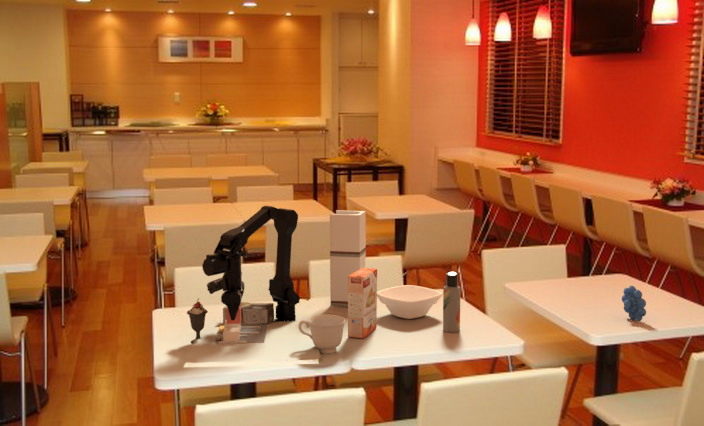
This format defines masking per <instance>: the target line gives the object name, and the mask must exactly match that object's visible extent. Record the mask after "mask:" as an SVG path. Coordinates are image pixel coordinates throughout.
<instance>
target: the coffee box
mask: <svg viewBox="0 0 704 426" xmlns="http://www.w3.org/2000/svg"><path fill="white" fill-rule="evenodd" d="M274 304H275V302H274V303H272V302H242V301H241V303H240V305H241V324H245V325H270V323H273V322H274V321H275V307H274V306H275V305H274ZM226 308H227V306H226V305H225V306H223V308H222V323H223V324H224V323H225V320H227V319H226Z"/></svg>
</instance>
